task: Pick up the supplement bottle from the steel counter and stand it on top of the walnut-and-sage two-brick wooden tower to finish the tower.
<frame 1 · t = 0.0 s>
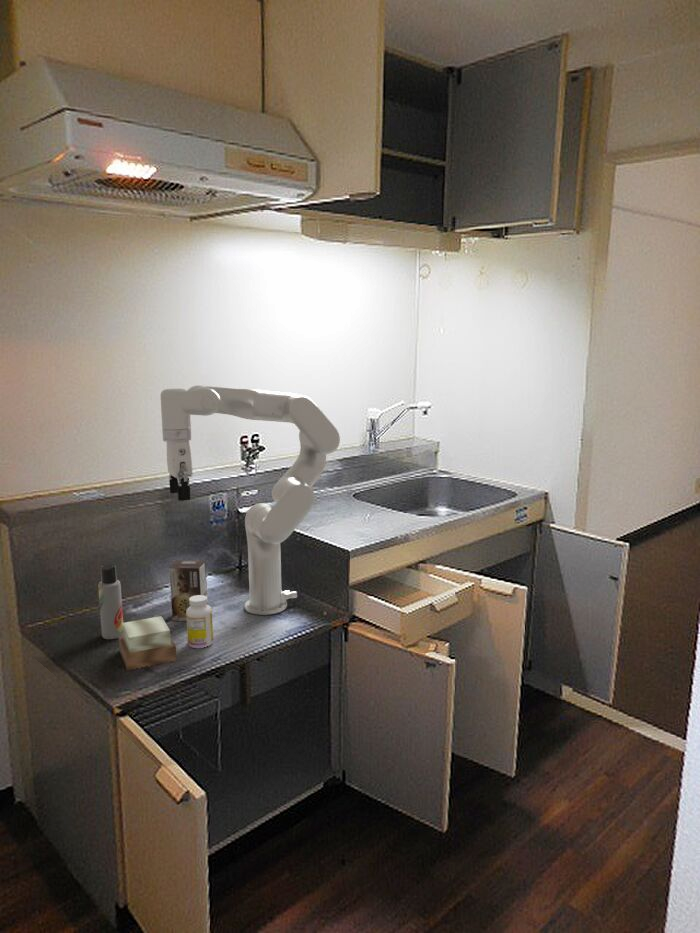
hand: (180, 496, 199), 37 cm above the countertop, tool pointing down, fingers open, 9 cm apart
brick tower: (147, 655, 185), on the countertop
supplement bottle: (200, 644, 192), on the countertop
coffee box: (190, 617, 210), on the countertop
lotion bottle: (113, 636, 198), on the countertop
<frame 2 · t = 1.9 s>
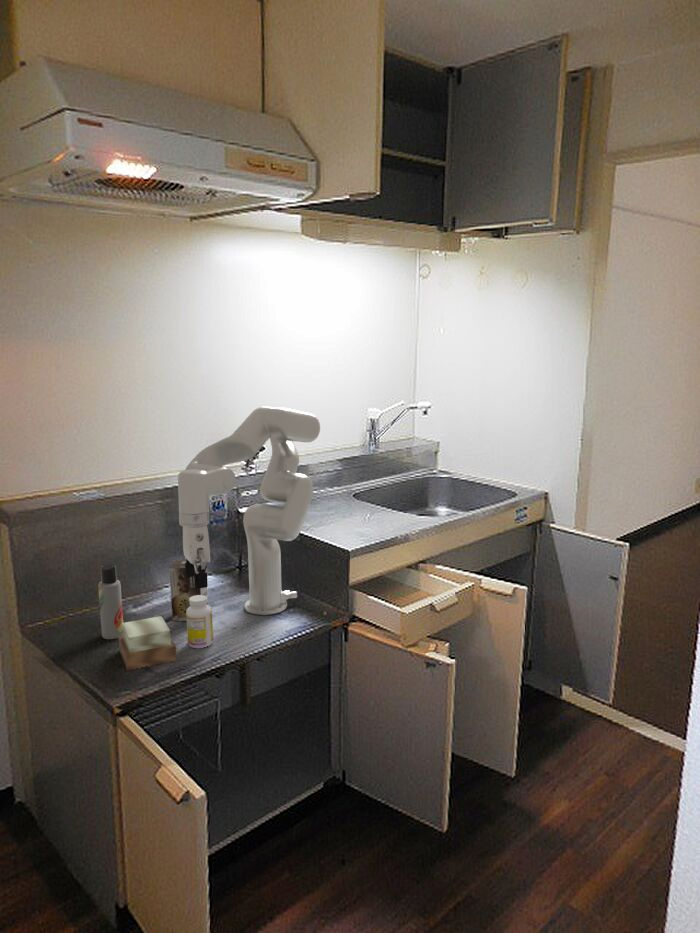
hand: (196, 582, 188), 17 cm above the countertop, tool pointing down, fingers open, 9 cm apart
nothing on the countertop moved.
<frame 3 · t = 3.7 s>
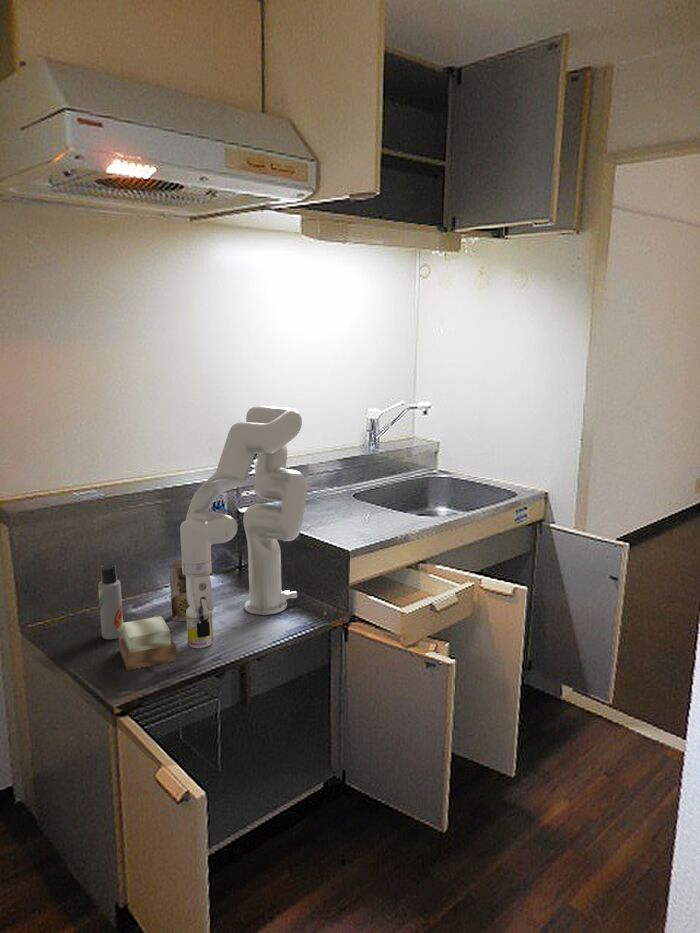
hand: (199, 630, 192), 4 cm above the countertop, tool pointing down, fingers closed on supplement bottle, 6 cm apart
supplement bottle: (200, 644, 192), on the countertop, touching gripper
everything else where it was.
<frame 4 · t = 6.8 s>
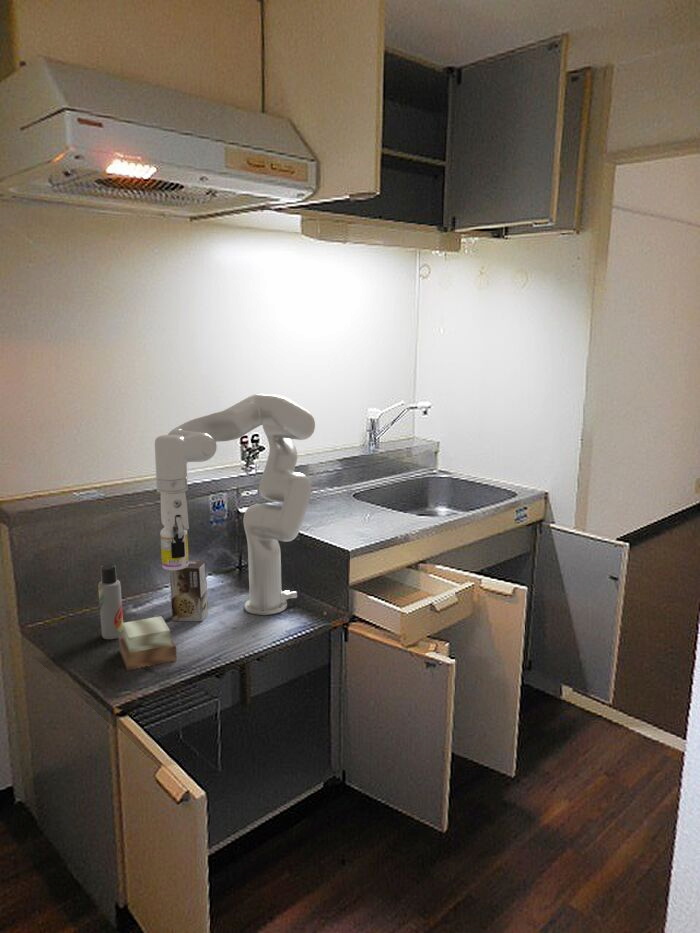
hand: (174, 552, 184), 26 cm above the countertop, tool pointing down, fingers closed on supplement bottle, 6 cm apart
supplement bottle: (175, 567, 185), point 22 cm above the countertop, touching gripper
everything else where it was.
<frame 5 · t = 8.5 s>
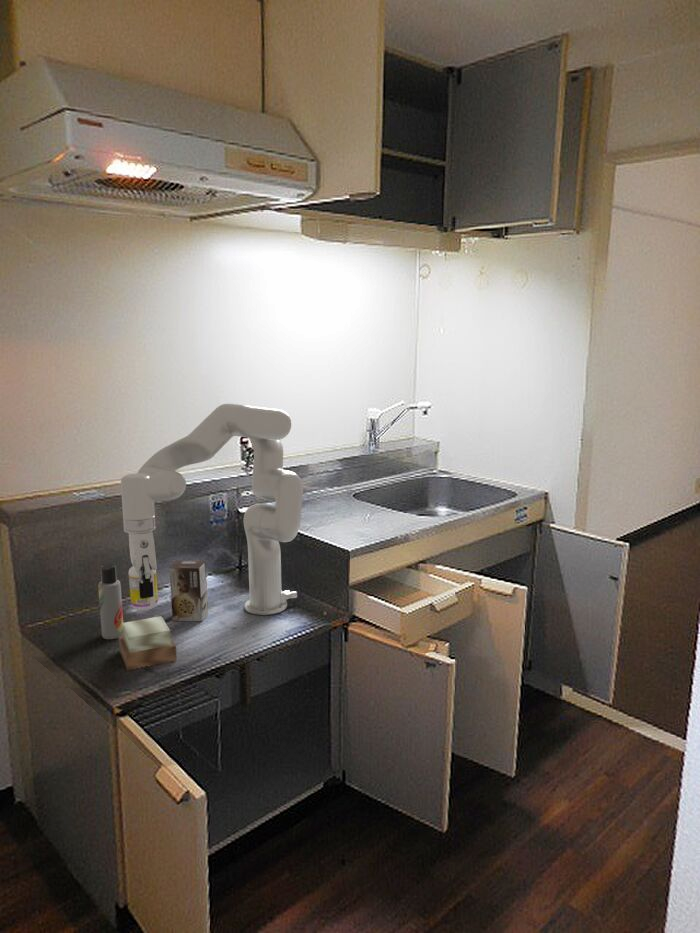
hand: (143, 591, 182), 17 cm above the countertop, tool pointing down, fingers closed on supplement bottle, 6 cm apart
supplement bottle: (144, 606, 183), point 13 cm above the countertop, touching gripper
everything else where it was.
when the fingers open (12 cm above the countertop, at t = 10.0 s): supplement bottle stays where it is, resting on brick tower.
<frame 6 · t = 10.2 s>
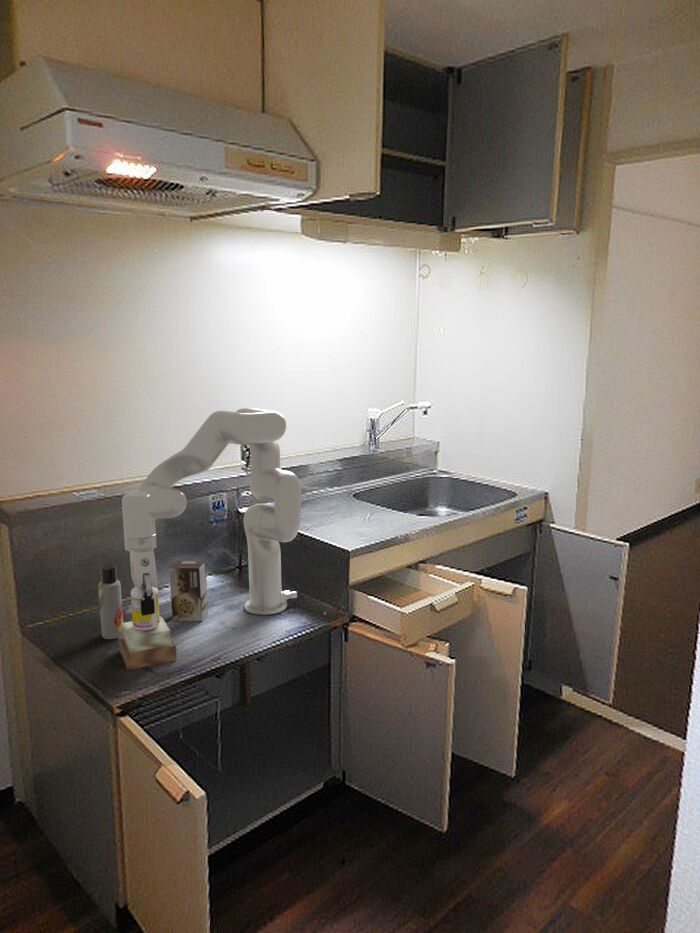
hand: (144, 607, 183), 13 cm above the countertop, tool pointing down, fingers open, 8 cm apart
supplement bottle: (146, 627, 184), point 8 cm above the countertop, touching brick tower
everything else where it was.
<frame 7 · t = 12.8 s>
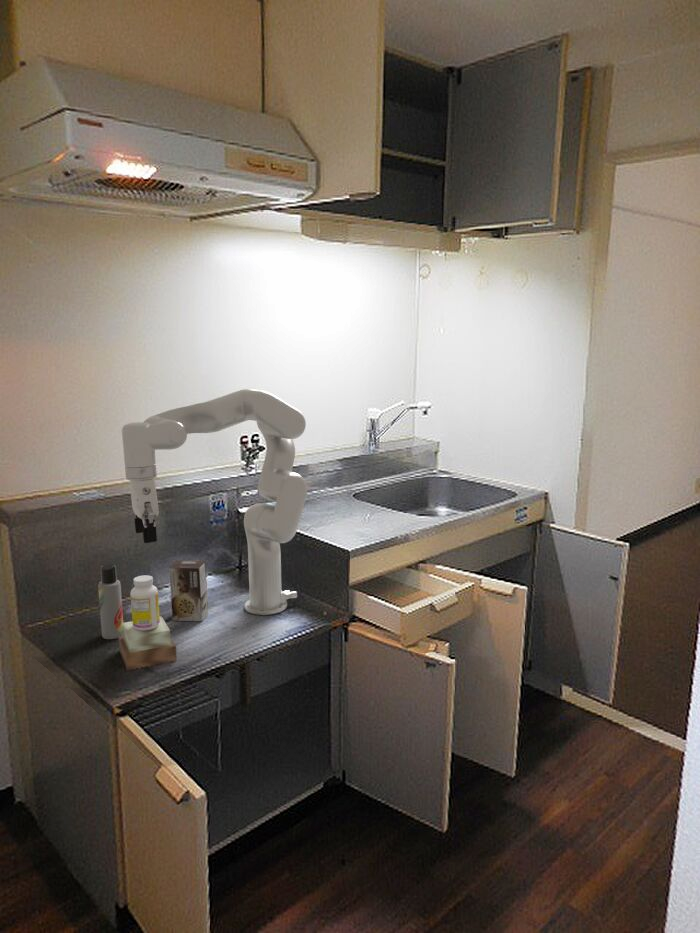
hand: (146, 537, 186), 30 cm above the countertop, tool pointing down, fingers open, 9 cm apart
nothing on the countertop moved.
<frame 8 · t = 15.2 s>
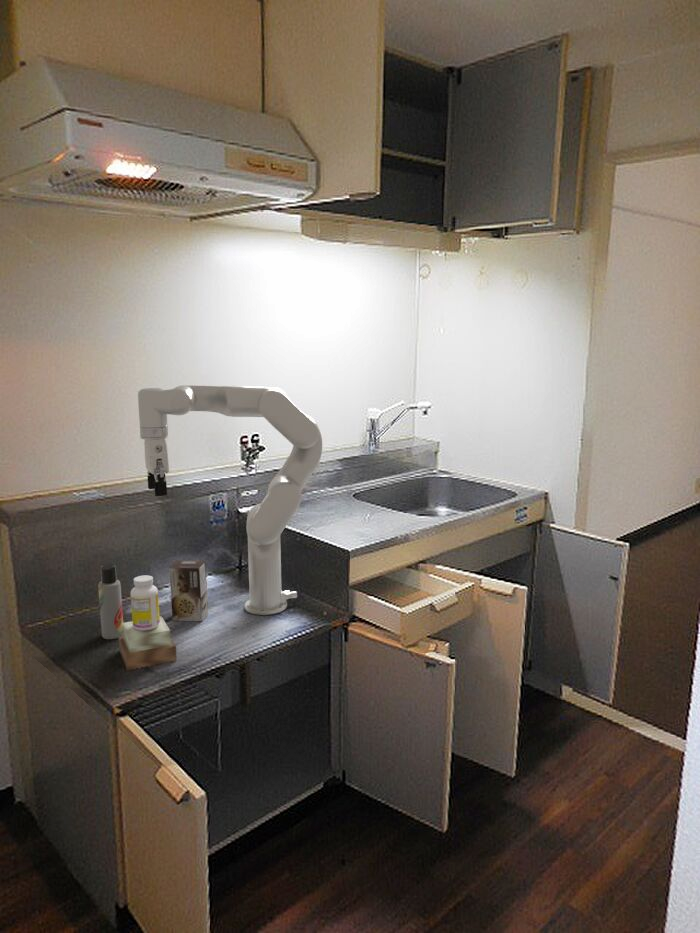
hand: (157, 492, 206), 36 cm above the countertop, tool pointing down, fingers open, 9 cm apart
nothing on the countertop moved.
at the end: supplement bottle 0.2 cm off-centre on the brick tower, point 7.8 cm above the brick tower's base; supplement bottle tilted 0°; the gripper is holding nothing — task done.
